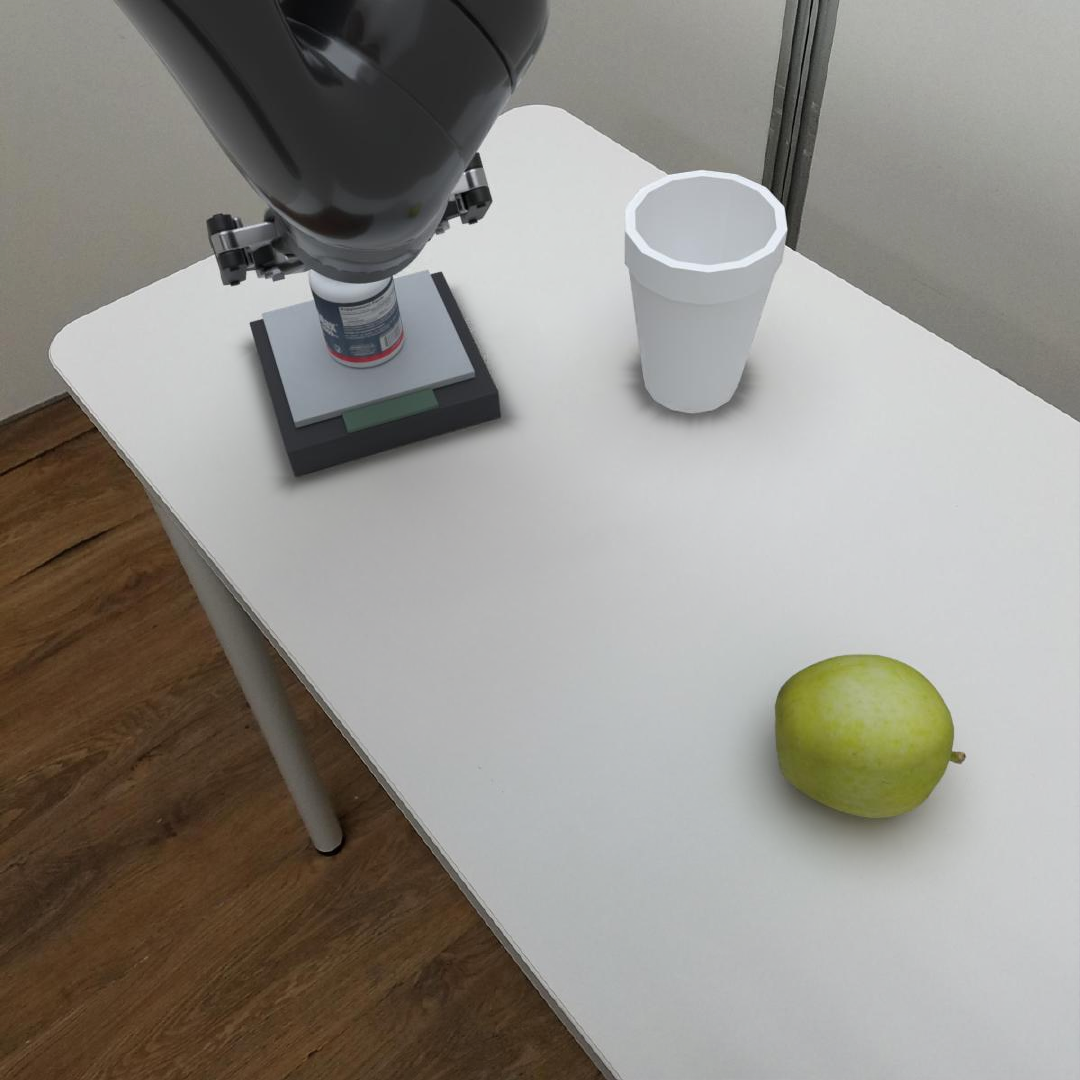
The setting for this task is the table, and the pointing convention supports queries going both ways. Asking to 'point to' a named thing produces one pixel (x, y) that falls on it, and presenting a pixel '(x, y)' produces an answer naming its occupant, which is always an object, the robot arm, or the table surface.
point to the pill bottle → (358, 319)
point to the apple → (863, 735)
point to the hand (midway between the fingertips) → (345, 243)
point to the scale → (374, 380)
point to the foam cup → (700, 281)
